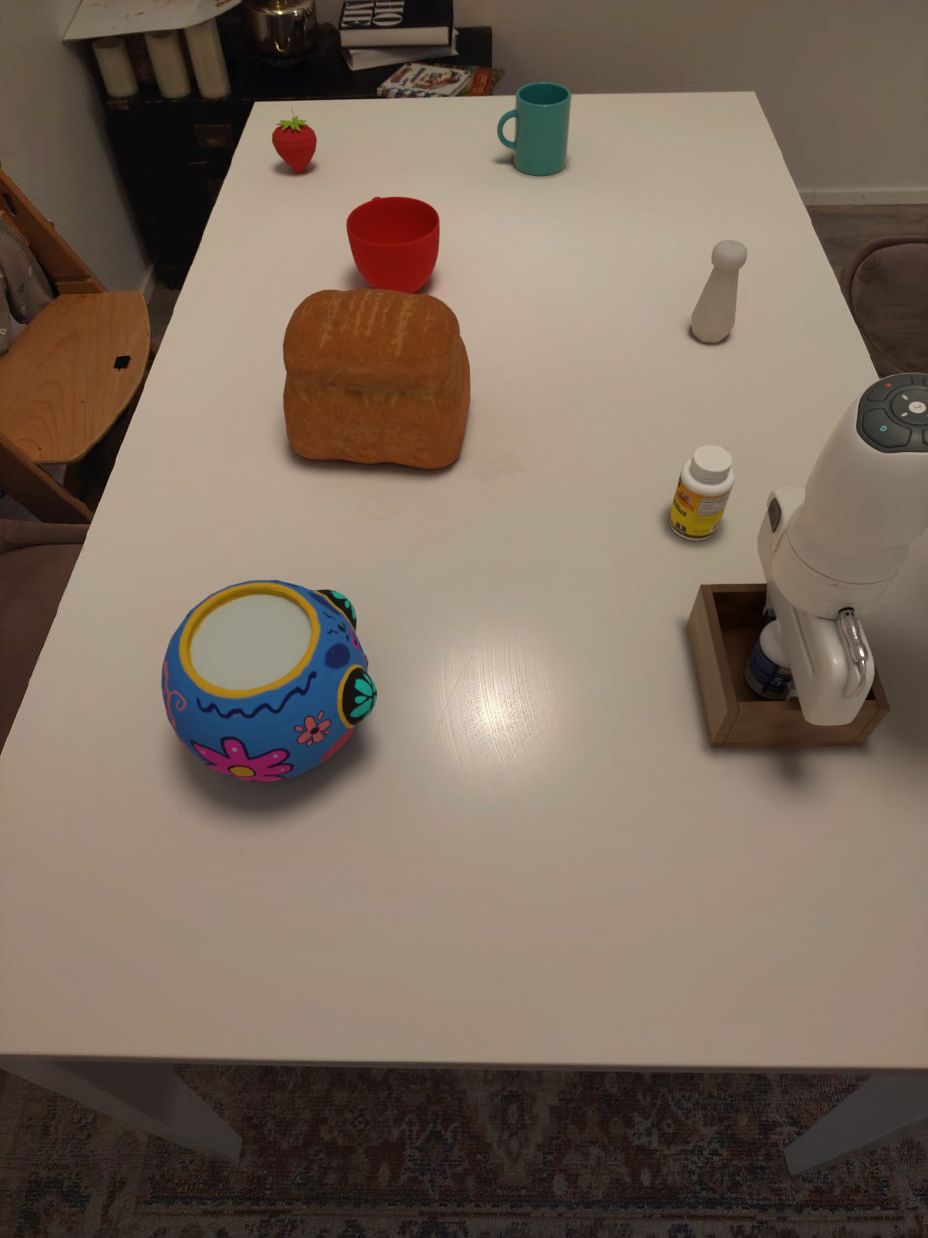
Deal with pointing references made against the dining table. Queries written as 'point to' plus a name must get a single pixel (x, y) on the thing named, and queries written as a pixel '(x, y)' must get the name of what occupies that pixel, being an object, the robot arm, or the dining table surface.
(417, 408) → the bread
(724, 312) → the salt shaker
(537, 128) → the cup
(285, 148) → the strawberry
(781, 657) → the pill bottle
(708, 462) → the supplement bottle
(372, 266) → the ceramic cup
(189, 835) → the dining table surface
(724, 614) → the box
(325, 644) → the ceramic pot
